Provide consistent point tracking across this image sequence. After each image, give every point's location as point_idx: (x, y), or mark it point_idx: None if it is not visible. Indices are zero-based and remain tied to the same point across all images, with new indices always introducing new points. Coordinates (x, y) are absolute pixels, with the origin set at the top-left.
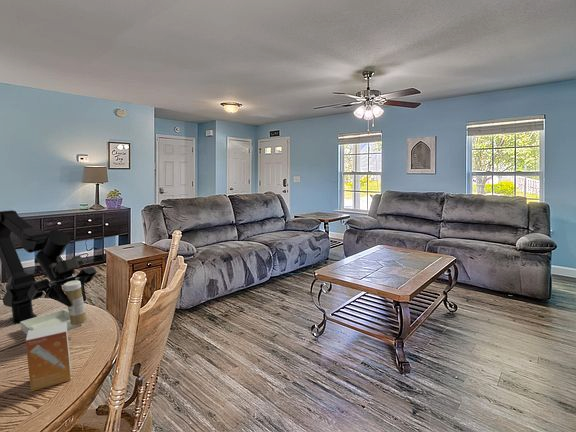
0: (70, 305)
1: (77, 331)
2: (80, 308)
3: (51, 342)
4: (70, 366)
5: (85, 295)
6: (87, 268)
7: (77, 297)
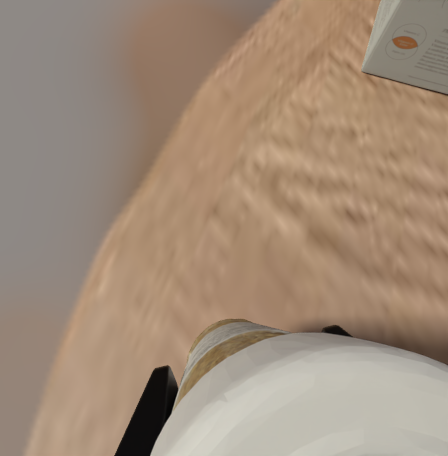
0: (333, 327)
1: None
2: (235, 324)
3: None
4: (381, 14)
5: (135, 412)
6: None
7: (263, 333)
